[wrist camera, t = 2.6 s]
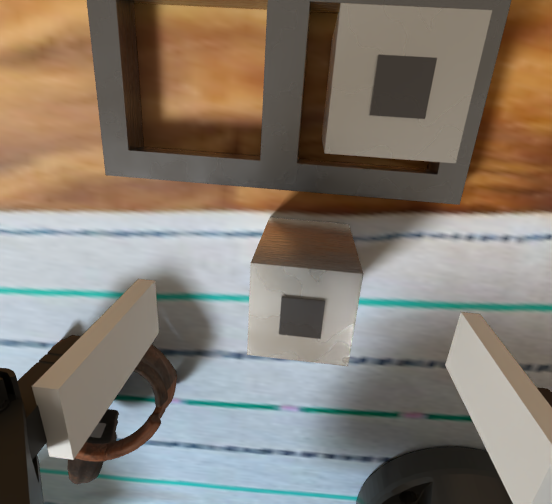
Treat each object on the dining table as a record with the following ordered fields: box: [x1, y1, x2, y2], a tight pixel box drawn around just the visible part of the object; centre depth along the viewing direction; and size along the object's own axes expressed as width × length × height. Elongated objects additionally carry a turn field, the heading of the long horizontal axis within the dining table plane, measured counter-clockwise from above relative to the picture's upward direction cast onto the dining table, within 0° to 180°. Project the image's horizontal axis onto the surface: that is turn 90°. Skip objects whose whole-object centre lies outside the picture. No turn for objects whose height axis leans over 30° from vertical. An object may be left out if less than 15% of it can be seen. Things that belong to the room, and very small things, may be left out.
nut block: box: [247, 217, 363, 366], centre depth 21 cm, size 5×5×8 cm
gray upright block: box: [322, 3, 492, 163], centre depth 17 cm, size 5×5×8 cm
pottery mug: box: [51, 340, 177, 484], centre depth 27 cm, size 12×10×8 cm
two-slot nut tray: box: [87, 0, 511, 205], centre depth 20 cm, size 20×10×2 cm, turn 86°
